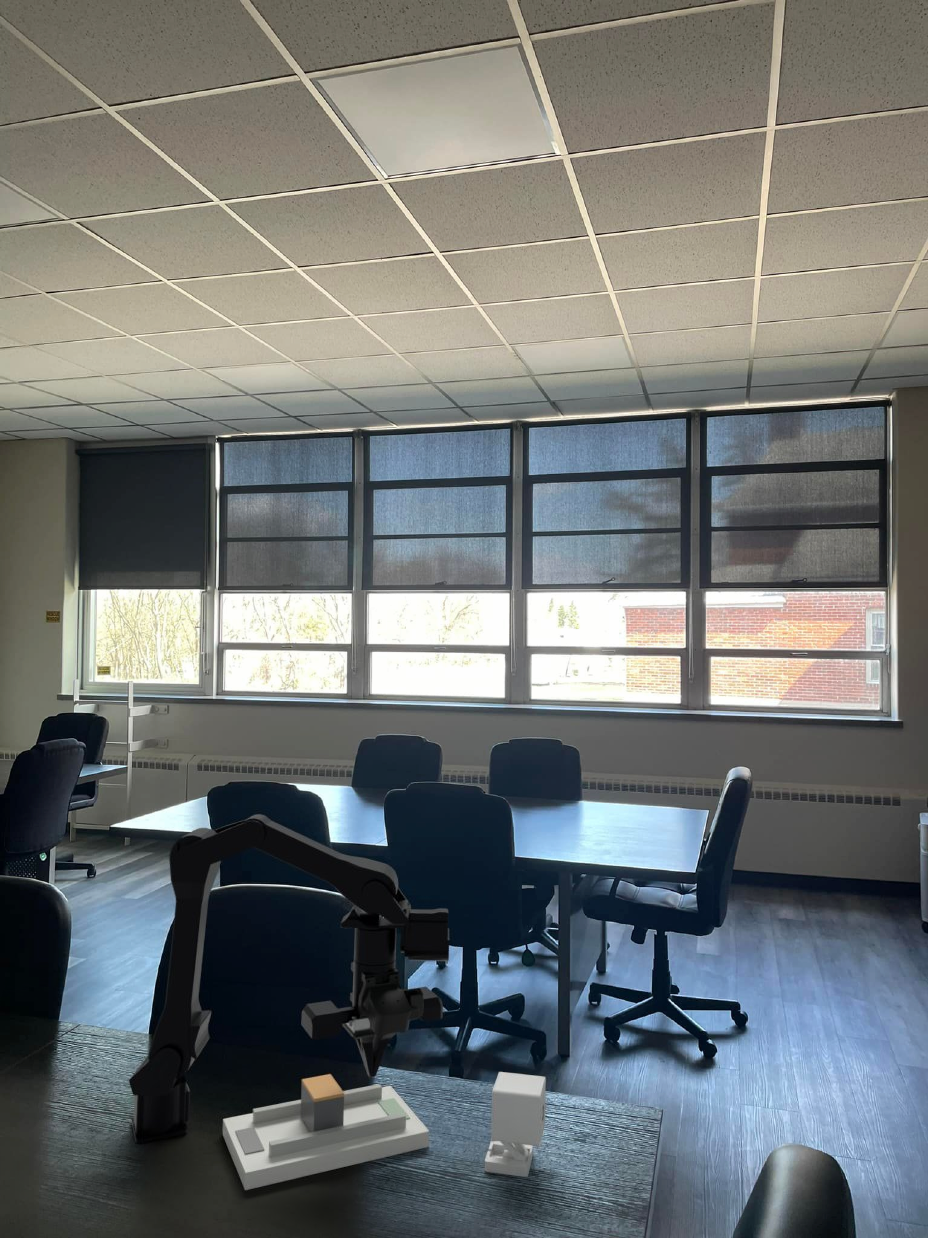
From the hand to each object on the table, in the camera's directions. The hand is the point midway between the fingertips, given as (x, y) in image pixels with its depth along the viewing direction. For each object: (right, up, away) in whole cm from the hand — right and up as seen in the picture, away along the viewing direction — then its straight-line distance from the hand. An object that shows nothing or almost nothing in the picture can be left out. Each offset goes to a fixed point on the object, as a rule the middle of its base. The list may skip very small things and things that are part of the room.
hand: (371, 1076), depth 120 cm
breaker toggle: (-6, -5, -3) cm, 9 cm away
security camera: (+19, -7, -8) cm, 22 cm away
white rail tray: (-6, -7, -3) cm, 10 cm away
